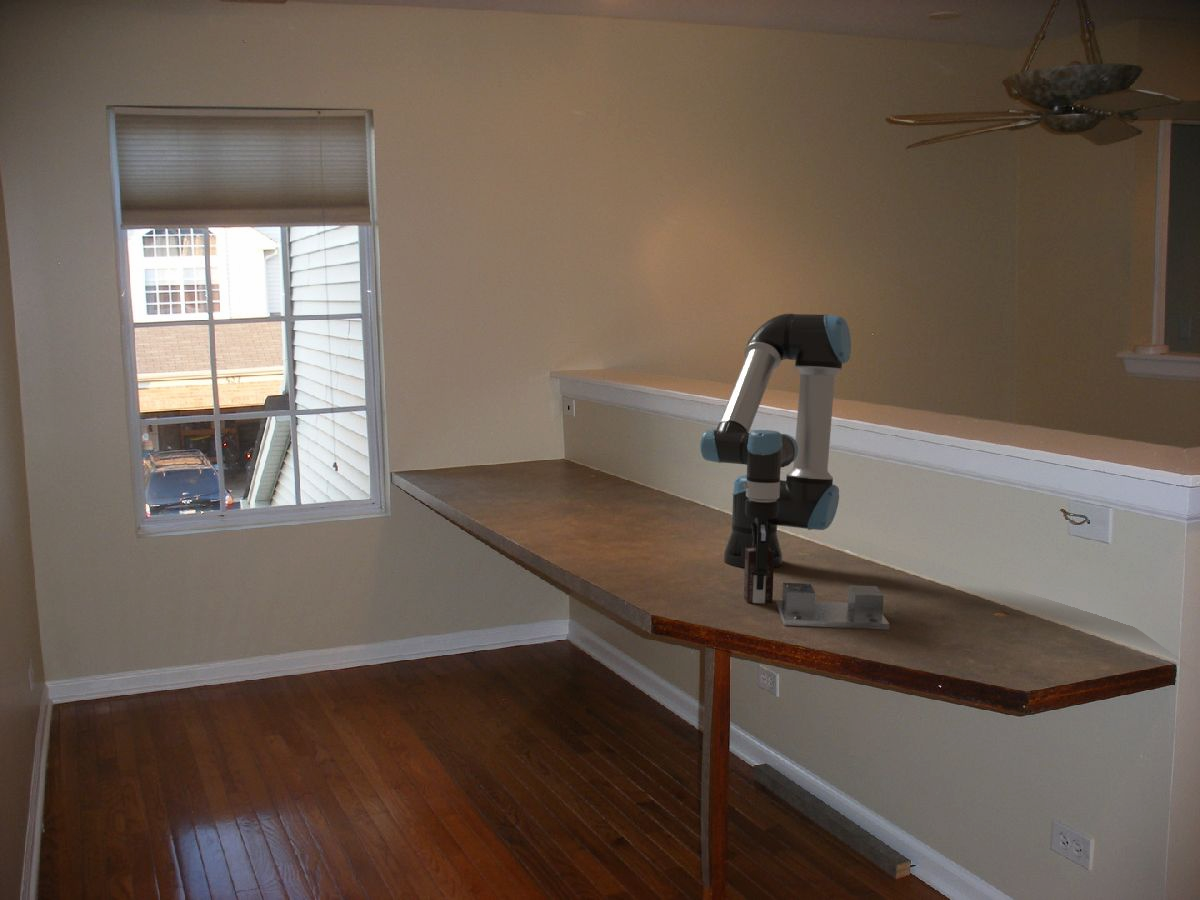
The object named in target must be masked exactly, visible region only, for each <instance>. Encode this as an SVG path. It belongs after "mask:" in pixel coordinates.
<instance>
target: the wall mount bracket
mask: <svg viewBox="0 0 1200 900" xmlns="http://www.w3.org/2000/svg"><path fill="white" fill-rule="evenodd" d="M781 597H782V598H781V599H776V607H777V610H778V612H779V615H780V618H781V620H782V623H783V625H784V626H789V627H792V626H793V627H795V626H796V627H819V628H820V627H821V628H823V627H824V628H843V629H865V630H867V629H870V630H890V623H889V621H888V620H887V619H886V617H885V615H884V614H883V611H884V609H883V608H884V594H883V593H882V591H881V590H880V588H879V587H878V586H877V585H857V584H856V585H854V584H853V585H852V584H849V585H848V598H847V599H848V600H847V602H846V601H844V602H843V601H820V600H819V601H818V600H817V601H816V592H815V590H814V588H813V586H812V584H811V583H805V582H804V583H803V582H802V583H801V582H800V583H799V582H798V583H797V582H783V583H782V595H781Z"/></svg>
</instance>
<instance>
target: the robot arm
mask: <svg viewBox="0 0 1200 900" xmlns="http://www.w3.org/2000/svg"><path fill="white" fill-rule="evenodd" d="M851 353H852V341H851V333H850V328H849V325H848V322H847V321H846V319H844V317H842V316H839V315H831V314H804V313H803V314H799V313H796V314H795V313H783V314H779V315H776V316H774V317H772V318H771V319H769V320H767V321H765V322H764V323H763V324H762V325H760V326H759V327H758V328H757V329H756V331H755V332H754V333H753V334H751V336H750V338H749V340H747V344H746V346H745V348H744V351H743V357H744V361H743V364H742V365H741V367H740V368H741V369H740V371H739V374H738V375H737V379H736V381H735V384H734V386H733V387H732V388H733V389H732V391H731V393H730V396H729V398H728V401H727V403H726V405H725V408H724V410H723V413H722V415H721V418H720V421H719V423H718V426H717V428H716V429H714V428H713V429H706V430H705V431H704V432H703V433H702V435H701V438H700V447H699V449H700V454H701V456H702V458H703V459H704V461H709V462H715V463H718V464H721V463H722V464H723V463H724V464H734V465H735V464H737V465H745V466H746V474H744V475H740V476H738V477H737V478H736V479H735V480H734V483H733V492H732V513H731V514H732V518H731V533H730V536H729V539H728V541H727V544H726V546H725V549H724V552H723V561H724V563H726V564H728V565H731V566H734V567H739V568H740V567H741V568H745V548H755V572H754V573H752V575H754V581H753V602H752V604H766V602H765V589H766V575H767V573H768V571H767V564H768V548H771V549H772V550H773V551H774V568H776V567H780V566H781V565H783V552H782V549H781V545H780V542H779V539H778V526H779V527H780V526H781V527H788V528H797V529H806V530H808V531H810V530H816V531H819V530H820V531H824V530H826V529H828V528H829V527H830V526H831V524H832V523H833V522H834V519H835V517H836V514H837V510H838V506H839V500H840V489H839V487H838V486H837V485H835V484H833V481H834V477H833V476H832V474H831V473H830V472H829V470H828V467H829V466H828V465H829V454H830V453H829V452H830V444H831V442H830V441H831V431H832V430H831V428H832V420H833V419H832V418H833V417H832V416H833V405H834V393H835V392H834V391H835V383H836V381H835V379H836V376H837V375H838V374H839V373H841V372H842V367H843V364H847V363H848V362H849V360H850V357H851V356H850V355H851ZM784 360H789V361H791V360H792V361H795V365H794V368H795V369H796V370H797V371H798V372H799V374H800V375H799V376H800V378H799V391H798V401H797V403H798V404H797V414H796V415H797V416H796V430H795V439H794V438H793V436H791V435H789V434H786V433H780V432H779V431H777V430H771V429H770V430H769V429H757V430H756V429H755V430H752V431H751V432H750V430H751V428H752V425H753V423H754V420H755V417H756V415H757V413H758V409H759V407H760V404H761V402H762V399H763V397H764V395H765V392H766V390H767V387H768V384H769V381H770V379H771V377H772V374H773V372H774V370H776V369H777V368H778V367H779V366H780V365H781V362H782V361H784ZM792 463H793V466H792V467H793V468H791V470H790V471H788V472H787V473H786V480H781V468H785V467H787V466H790V465H791V464H792Z"/></svg>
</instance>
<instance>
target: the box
mask: <svg viewBox="0 0 1200 900" xmlns="http://www.w3.org/2000/svg"><path fill="white" fill-rule="evenodd" d="M774 569H775V567H774V551H773V550H772V549H771V548H768V564H767V571H768V573H767V575H766V589H765V603H773V596H774V594H773V592H774V591H773V590H774ZM754 572H755V548H745V567H744V575H743V576H744V577H743V578H744V579H743V581H744V582H743V599H744V600H745V602H746V603H749V604H751V603H753V581H754V575H752V573H754Z"/></svg>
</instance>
